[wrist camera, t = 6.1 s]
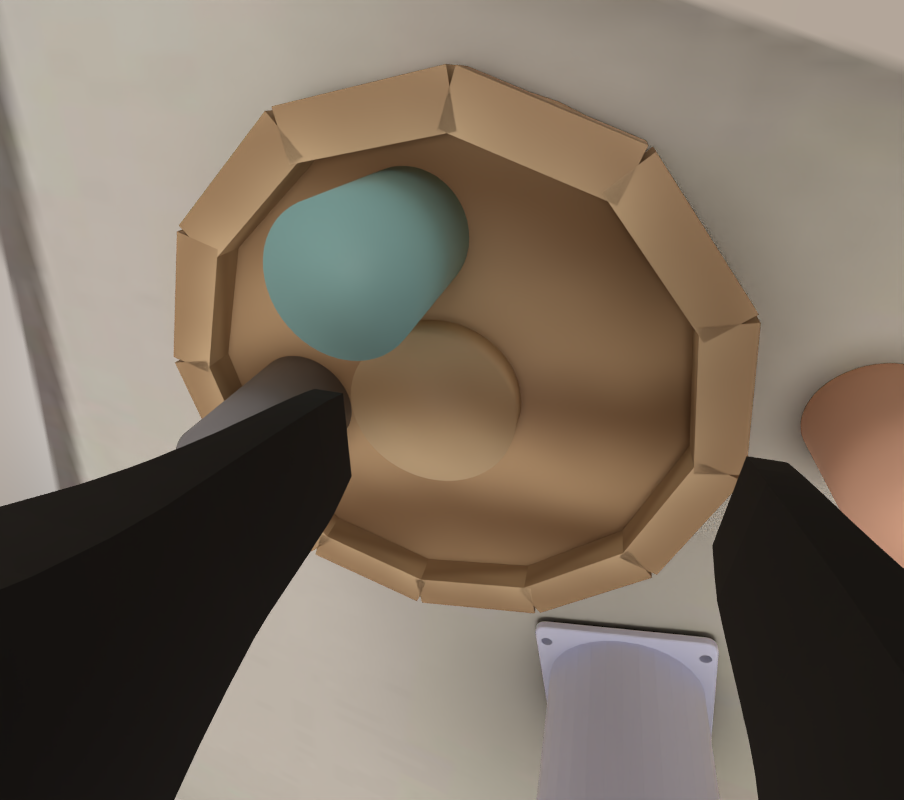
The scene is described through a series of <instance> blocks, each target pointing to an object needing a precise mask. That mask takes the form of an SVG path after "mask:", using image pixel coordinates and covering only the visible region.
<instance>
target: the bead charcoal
mask: <svg viewBox="0 0 904 800" xmlns="http://www.w3.org/2000/svg"><path fill="white" fill-rule="evenodd" d="M313 389H319V390H326V391H332V392H338V393H343V397H344V407H345V417H346V426H347V428H348V426H349V424H350V421H351V416H352V409H351V403H350V399H349V396H348V394H347V392H346V390H345V388H344V386H343V385H342V383H341V382H340V381H339V379H338V378H337V377H336V376H335V375H334V374H333V373H332V372H331V371H330V370H328V369H327V368H326V367H324V366H323V365H321V364H319V363H317V362H316V361H313V360H311V359H308V358H304V357H300V356H285V357H281V358H278V359H276V360H274V361H273V362H271V363H270V364H269V365H267V366H266V367H265V368H264V369H263V370H261V371H260V372H259V373H258V374H256V375H255V376H254V377H253V378H252V379H250V380H249V381H248V382H247V383H245V384H244V385H243V386H242V387H241V388H239V389H238V390H237V391H236V392H234V393H233V394H232V395H231V396H230V397H228V398H227V399H226V400H225V401H223V402H222V403H221V404H220V405H219V406H217V407H216V408H215V409H214V410H212V411H211V412H210V413H209V414H208V415H206V416H205V417H204V418H203V419H201V420H200V421H199V422H198V423H197V424H195V425H194V426H193V427H192V428H190V429H189V430H188V431H187V432H186V433H184V434H183V435H182V437H181V438H180V440H179V441H178V444H177V447H176V449H178V448H180V447H183V446H185V445H187V444H190V443H192V442H195V441H197V440H199V439H202V438H204V437H206V436H209V435H211V434H214V433H216V432H218V431H220V430H222V429H225V428H227V427H229V426H231V425H233V424H235V423H238V422H240V421H242V420H244V419H246V418H248V417H251V416H253V415H255V414H257V413H259V412H261V411H263V410H266V409H268V408H270V407H272V406H274V405H276V404H279V403H281V402H283V401H285V400H287V399H290V398H292V397H294V396H297V395H299V394H302V393H304V392H307V391H310V390H313Z"/></svg>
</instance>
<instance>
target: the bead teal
mask: <svg viewBox="0 0 904 800" xmlns="http://www.w3.org/2000/svg"><path fill="white" fill-rule="evenodd" d="M468 247H469V228H468V222H467V218H466V215H465V212H464V210H463V207H462V205H461V203H460V201H459V200H458V198H457V196H456V195H455V194H454V192H453V191H452V190H451V189H450V188H449V187H448V186H447V185H446V184H445V183H444V182H443V181H442V180H441V179H439V178H438V177H437V176H435V175H433V174H432V173H430V172H428V171H425V170H423V169H420V168H416V167H411V166H394V167H389V168H386V169H383V170H381V171H378V172H375V173H373V174H370V175H368V176H365V177H362V178H360V179H357V180H355V181H352V182H349V183H347V184H344V185H342V186H339V187H336V188H334V189H331V190H329V191H326V192H323V193H321V194H318V195H316V196H313V197H310V198H308V199H305V200H303V201H300V202H298V203H296V204H294V205H292V206H291V207H289V208H288V209H287V210H285V211H284V212H283V213H282V214H281V215H280V216H279V217H278V218H277V220H276V221H275V222H274V224H273V226H272V227H271V229H270V231H269V233H268V236H267V238H266V242H265V246H264V252H263V272H264V279H265V283H266V287H267V290H268V293H269V296H270V298H271V301H272V303H273V305H274V307H275V309H276V310H277V312H278V314H279V315H280V317H281V318H282V320H283V321H284V322H285V323H286V325H287V326H288V327H289V328H290V329H291V330H292V331H293V332H294V334H296V335H297V336H298V337H299V338H300V339H301V340H302V341H304V342H305V343H307V344H308V345H309V346H311V347H312V348H314V349H316V350H318V351H319V352H322V353H324V354H326V355H328V356H331V357H335V358H338V359H343V360H349V361H364V360H370V359H375V358H378V357H381V356H383V355H385V354H387V353H389V352H391V351H392V350H393V349H395V348H396V347H397V346H399V344H400V343H401V342H402V341H403V340H404V339H405V338H406V337H407V336H408V334H409V333H410V332H411V331H412V329H413V328H414V327H415V326H416V325H417V323H418V322H419V321H420V320H421V318H422V317H423V316H424V315H425V314H426V312H427V311H428V310H429V309H430V307H431V306H432V305H433V304H434V303H435V301H436V300H437V299H438V298H439V296H440V295H441V294H442V293H443V291H444V290H445V289H446V288H447V287H448V285H449V284H450V283H451V282H452V280H453V279H454V278H455V277H456V276H457V274H458V273H459V271H460V270H461V268H462V266H463V264H464V262H465V259H466V256H467V252H468Z"/></svg>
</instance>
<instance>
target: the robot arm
mask: <svg viewBox="0 0 904 800" xmlns="http://www.w3.org/2000/svg"><path fill="white" fill-rule="evenodd" d="M351 477H352V474H351V465H350V455H349V445H348V436H347V426H346V417H345V407H344V397H343V393H338V392H332V391H326V390H319V389H313V390H310V391H307V392H304V393H302V394H299V395H297V396H294V397H292V398H290V399H287V400H285V401H283V402H281V403H279V404H276V405H274V406H272V407H270V408H268V409H266V410H263V411H261V412H259V413H257V414H255V415H253V416H251V417H248V418H246V419H244V420H242V421H240V422H238V423H235V424H233V425H231V426H229V427H227V428H225V429H222V430H220V431H218V432H216V433H214V434H211V435H209V436H206V437H204V438H202V439H199V440H197V441H195V442H192V443H190V444H187V445H185V446H183V447H180V448H178V449H176V450H173V451H171V452H169V453H166V454H164V455H161V456H159V457H156V458H154V459H151V460H149V461H146V462H143V463H141V464H138V465H135V466H133V467H130V468H127V469H124V470H121V471H118V472H115V473H112V474H109V475H107V476H104V477H101V478H98V479H95V480H92V481H89V482H86V483H82V484H79V485H76V486H72V487H69V488H65V489H62V490H58V491H55V492H51V493H48V494H44V495H40V496H37V497H34V498H30V499H26V500H23V501H19V502H15V503H12V504H8V505H5V506H1V507H0V800H174V799H175V797H176V795H177V792H178V790H179V788H180V786H181V784H182V782H183V780H184V777H185V775H186V773H187V771H188V769H189V767H190V764H191V762H192V760H193V758H194V756H195V754H196V751H197V749H198V747H199V745H200V743H201V741H202V739H203V737H204V735H205V733H206V731H207V729H208V727H209V725H210V723H211V721H212V719H213V717H214V715H215V713H216V711H217V709H218V707H219V705H220V703H221V701H222V699H223V697H224V695H225V693H226V691H227V689H228V687H229V685H230V683H231V681H232V679H233V677H234V675H235V673H236V672H237V670H238V668H239V666H240V664H241V662H242V660H243V658H244V656H245V655H246V653H247V651H248V649H249V647H250V645H251V643H252V641H253V639H254V638H255V636H256V634H257V633H258V631H259V629H260V628H261V626H262V624H263V623H264V621H265V619H266V618H267V616H268V614H269V613H270V611H271V610H272V608H273V607H274V605H275V604H276V602H277V601H278V599H279V598H280V596H281V595H282V593H283V592H284V590H285V589H286V587H287V586H288V584H289V583H290V581H291V580H292V578H293V577H294V575H295V574H296V572H297V571H298V569H299V568H300V566H301V565H302V563H303V562H304V560H305V559H306V557H307V556H308V554H309V553H310V551H311V550H312V548H313V547H314V545H315V544H316V542H317V541H318V539H319V538H320V536H321V534H322V533H323V531H324V530H325V528H326V527H327V525H328V524H329V522H330V520H331V519H332V517H333V515H334V513H335V511H336V509H337V507H338V505H339V503H340V501H341V499H342V496H343V494H344V492H345V490H346V488H347V485H348V483H349V481H350V479H351ZM713 559H714V573H715V584H716V594H717V602H718V607H719V611H720V616H721V621H722V625H723V630H724V634H725V639H726V643H727V647H728V652H729V656H730V660H731V665H732V669H733V673H734V678H735V682H736V686H737V691H738V695H739V699H740V704H741V708H742V712H743V717H744V721H745V725H746V729H747V734H748V738H749V743H750V749H751V754H752V759H753V765H754V770H755V776H756V784H757V792H758V800H904V568H903V567H902V566H900V565H899V564H898V563H897V562H896V561H895V560H894V559H893V558H891V557H890V556H889V555H888V554H887V553H886V552H885V551H884V550H883V549H881V548H880V547H879V546H878V545H877V544H876V543H875V542H874V541H873V540H872V539H871V538H869V537H868V536H867V535H866V534H865V533H864V532H863V531H862V530H861V529H860V528H859V527H857V526H856V525H855V524H854V523H853V522H852V521H851V520H850V519H849V518H848V517H847V516H846V515H845V514H844V513H842V512H841V511H840V510H839V509H838V508H837V507H836V506H835V505H834V504H833V503H832V502H831V501H830V500H829V499H828V498H826V497H825V496H824V495H823V494H822V493H821V492H820V491H819V490H818V489H817V488H816V487H815V486H814V485H813V484H811V483H810V482H809V481H808V480H807V479H806V478H805V477H804V476H803V475H801V474H800V473H799V472H798V471H797V470H796V469H794V468H793V467H792V466H791V465H790V464H788V463H786V462H780V461H774V460H767V459H761V458H754V457H748V456H746V459H745V461H744V464H743V467H742V469H741V472H740V474H739V477H738V480H737V482H736V485H735V488H734V490H733V493H732V495H731V498H730V501H729V503H728V506H727V509H726V511H725V514H724V517H723V519H722V522H721V524H720V527H719V530H718V532H717V535H716V538H715V540H714V543H713ZM535 633H536V639H537V645H538V651H539V657H540V663H541V670H542V676H543V682H544V688H545V694H546V700H547V709H546V718H545V727H544V737H543V746H542V755H541V764H540V773H539V782H538V791H537V800H720V796H719V789H718V782H717V775H716V768H715V761H714V754H713V747H712V741H711V739H712V727H713V715H714V703H715V691H716V678H717V666H718V654H719V651H718V646H717V643H716V642H715V641H714V640H712V639H710V638H707V637H698V636H688V635H678V634H668V633H658V632H648V631H638V630H628V629H618V628H608V627H598V626H588V625H578V624H568V623H558V622H547V621H542V622H539V623H538V624H537V625H536V632H535Z"/></svg>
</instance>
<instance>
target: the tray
mask: <svg viewBox="0 0 904 800" xmlns="http://www.w3.org/2000/svg"><path fill="white" fill-rule="evenodd" d="M647 147H648V144H647V142H646V140H643V139H641V138H638V137H636V136H634V135H631V134H629V133H626V132H624V131H622V130H619V129H617V128H614V127H612V126H610V125H607V124H605V123H602V122H600V121H598V120H595V119H593V118H590V117H588V116H586V115H584V114H582V113H580V112H578V111H576V110H574V109H572V108H570V107H568V106H566V105H564V104H562V103H560V102H558V101H555V100H552V99H549V98H546V97H543V96H540V95H537V94H534V93H531V92H528V91H526V90H523V89H521V88H519V87H516V86H514V85H511V84H509V83H507V82H504V81H502V80H499V79H497V78H495V77H492V76H490V75H488V74H485V73H483V72H480V71H478V70H476V69H473V68H471V67H468V66H462V65H450V64H444V65H440V66H436V67H432V68H428V69H424V70H420V71H415V72H411V73H407V74H403V75H399V76H395V77H391V78H387V79H383V80H378V81H374V82H370V83H366V84H362V85H358V86H354V87H350V88H346V89H341V90H337V91H333V92H329V93H325V94H321V95H317V96H313V97H309V98H305V99H300V100H296V101H292V102H288V103H284V104H280V105H276V106H272V110H271V111H265V112H264V113H263V114H262V116H261V117H260V118H259V120H258V121H257V122H256V124H255V125H254V126H253V128H252V129H251V130H250V132H249V133H248V134H247V136H246V137H245V138H244V140H243V141H242V142H241V144H240V145H239V146H238V148H237V149H236V150H235V152H234V153H233V154H232V156H231V157H230V158H229V160H228V161H227V162H226V164H225V165H224V166H223V168H222V169H221V170H220V172H219V173H218V174H217V175H216V177H215V178H214V179H213V181H212V182H211V183H210V185H209V186H208V187H207V189H206V190H205V191H204V193H203V194H202V195H201V197H200V198H199V199H198V201H197V202H196V203H195V205H194V206H193V207H192V209H191V210H190V211H189V213H188V214H187V215H186V217H185V218H184V219H183V221H182V222H181V223H180V225H179V226H180V227H181V228H182V229H183V230H180V231H177V252H176V290H175V328H174V357H175V358H177V359H180V360H179V361H177V362H175V363H176V366H177V368H178V370H179V372H180V374H181V376H182V378H183V380H184V382H185V384H186V387H187V389H188V391H189V393H190V395H191V397H192V399H193V401H194V403H195V405H196V408H197V410H198V412H199V414H200V416H201V418H202V419H203V418H204V417H205V416H206V415H208V414H209V413H210V412H211V411H212V410H214V409H215V408H216V407H217V406H219V405H220V404H221V403H222V402H223V401H225V400H226V399H227V398H228V397H230V396H231V395H232V394H233V393H234V392H236V391H237V390H238V389H239V388H241V387H242V386H243V385H244V384H245V383H247V382H248V381H249V380H250V379H252V378H253V377H254V376H255V375H256V374H258V373H259V372H260V371H261V370H263V369H264V368H265V367H266V366H267V365H269V364H270V363H271V362H273V361H274V360H276V359H278V358H281V357H285V356H300V357H304V358H308V359H311V360H313V361H316V362H317V363H319V364H321V365H323V366H324V367H326V368H327V369H328V370H330V371H331V372H332V373H333V374H334V375H335V376H336V377H337V378H338V379H339V381H340V382H341V383H342V385H343V386H344V388H345V390H346V392H347V394H348V396H349V399H350V403H351V409H352V416H351V421H350V424H349V426H348V428H347V436H348V445H349V455H350V465H351V474H352V477H351V479H350V481H349V483H348V485H347V488H346V490H345V492H344V494H343V496H342V499H341V501H340V503H339V505H338V507H337V509H336V511H335V513H334V515H333V517H332V519H331V520H330V522H329V524H328V525H327V527H326V528H325V530H324V531H323V533H322V534H321V536H320V538H319V539H318V541H317V542H316V544H315V545H314V547H313V548H312V550H311V551H313V550H315V549H317V551H316V555H318V556H320V557H323V558H325V559H327V560H329V561H331V562H333V563H336V564H338V565H340V566H342V567H344V568H346V569H349V570H351V571H353V572H355V573H357V574H359V575H362V576H364V577H366V578H368V579H370V580H372V581H375V582H377V583H379V584H381V585H383V586H385V587H388V588H390V589H392V590H394V591H396V592H398V593H401V594H403V595H405V596H407V597H409V598H411V599H414V600H416V601H417V600H418V598H419V596H420V597H421V600H422V603H433V604H443V605H454V606H464V607H475V608H485V609H496V610H506V611H517V612H527V613H535V608H536V609H537V610H538V611H539V612H540V613H541V612H544V611H547V610H550V609H554V608H557V607H560V606H563V605H566V604H569V603H573V602H576V601H579V600H582V599H585V598H589V597H592V596H595V595H598V594H601V593H604V592H608V591H611V590H614V589H617V588H620V587H624V586H627V585H630V584H633V583H636V582H639V581H643V580H646V579H649V578H652V574H651V572H652V573H654V574H656V575H657V574H658V573H659V572H660V571H661V569H662V568H663V567H664V566H665V565H666V564H667V563H668V562H669V561H670V560H671V559H672V558H673V556H674V555H675V554H676V553H677V552H678V551H679V550H680V549H681V548H682V547H683V546H684V545H685V543H686V542H687V541H688V540H689V539H690V538H691V537H692V536H693V535H694V534H695V533H696V531H697V530H698V529H699V528H700V527H701V526H702V525H703V524H704V523H705V522H706V521H707V520H708V518H709V517H710V516H711V515H712V514H713V513H714V512H715V511H716V510H717V509H718V508H719V507H720V505H721V504H722V503H723V502H724V501H725V500H726V499H727V498H728V497H729V496H730V495H731V494H732V492H733V490H734V488H735V485H736V482H737V480H738V477H739V474H740V472H741V469H742V467H743V464H744V461H745V459H746V456H748V448H749V438H750V427H751V417H752V407H753V396H754V386H755V376H756V365H757V355H758V345H759V334H760V324H761V323H760V321H759V319H758V318H757V315H759V314H758V313H757V311H756V309H755V308H754V306H753V304H752V303H751V301H750V300H749V298H748V296H747V295H746V293H745V292H744V290H743V288H742V287H741V285H740V284H739V282H738V281H737V279H736V277H735V276H734V274H733V273H732V271H731V269H730V268H729V266H728V265H727V263H726V261H725V260H724V258H723V257H722V255H721V254H720V252H719V250H718V249H717V247H716V246H715V244H714V242H713V241H712V239H711V238H710V236H709V235H708V233H707V231H706V230H705V228H704V227H703V225H702V223H701V222H700V220H699V218H698V217H697V216H696V214H695V212H694V211H693V209H692V208H691V206H690V204H689V203H688V201H687V200H686V198H685V197H684V195H683V193H682V192H681V190H680V189H679V187H678V185H677V184H676V182H675V181H674V179H673V178H672V176H671V174H670V173H669V171H668V170H667V168H666V166H665V165H664V163H663V162H662V160H661V159H660V157H659V155H658V154H657V152H656V151H655V149H654V147H652V148H651V149H649V150H648V151H647V152H645V151H646V149H647ZM394 166H411V167H416V168H420V169H423V170H425V171H428V172H430V173H432V174H433V175H435V176H437V177H438V178H439V179H441V180H442V181H443V182H444V183H445V184H446V185H447V186H448V187H449V188H450V189H451V190H452V191H453V192H454V194H455V195H456V196H457V198H458V200H459V201H460V203H461V205H462V207H463V210H464V212H465V215H466V218H467V222H468V228H469V247H468V252H467V256H466V259H465V262H464V264H463V266H462V268H461V270H460V271H459V273H458V274H457V276H456V277H455V278H454V279H453V280H452V282H451V283H450V284H449V285H448V287H447V288H446V289H445V290H444V291H443V293H442V294H441V295H440V296H439V298H438V299H437V300H436V301H435V303H434V304H433V305H432V306H431V307H430V309H429V310H428V311H427V312H426V314H425V315H424V316H423V317H422V318H421V320H420V321H419V322H418V323H417V325H416V326H415V327H414V328H413V329H412V331H411V332H410V333H409V334H408V336H407V337H406V338H405V339H404V340H403V341H402V342H401V343H400V344H399V346H397V347H396V348H395V349H393V350H392V351H391V352H389V353H387V354H385V355H383V356H381V357H378V358H375V359H370V360H364V361H349V360H343V359H338V358H335V357H331V356H328V355H326V354H324V353H322V352H319V351H318V350H316V349H314V348H312V347H311V346H309V345H308V344H307V343H305V342H304V341H302V340H301V339H300V338H299V337H298V336H297V335H296V334H294V332H293V331H292V330H291V329H290V328H289V327H288V326H287V325H286V323H285V322H284V321H283V320H282V318H281V317H280V315H279V314H278V312H277V310H276V309H275V307H274V305H273V303H272V301H271V298H270V296H269V293H268V290H267V287H266V283H265V279H264V272H263V252H264V246H265V242H266V238H267V236H268V233H269V231H270V229H271V227H272V226H273V224H274V222H275V221H276V220H277V218H278V217H279V216H280V215H281V214H282V213H283V212H284V211H285V210H287V209H288V208H289V207H291V206H292V205H294V204H296V203H298V202H300V201H303V200H305V199H308V198H310V197H313V196H316V195H318V194H321V193H323V192H326V191H329V190H331V189H334V188H336V187H339V186H342V185H344V184H347V183H349V182H352V181H355V180H357V179H360V178H362V177H365V176H368V175H370V174H373V173H375V172H378V171H381V170H383V169H386V168H389V167H394Z"/></svg>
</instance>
